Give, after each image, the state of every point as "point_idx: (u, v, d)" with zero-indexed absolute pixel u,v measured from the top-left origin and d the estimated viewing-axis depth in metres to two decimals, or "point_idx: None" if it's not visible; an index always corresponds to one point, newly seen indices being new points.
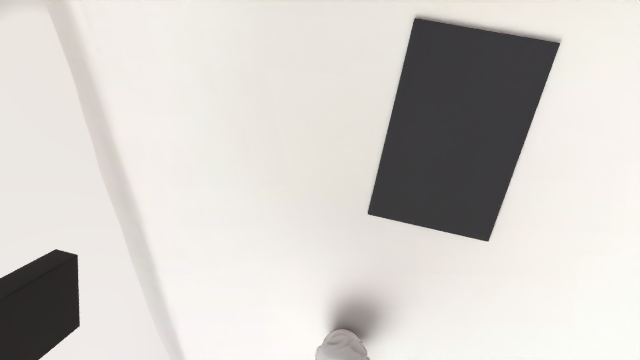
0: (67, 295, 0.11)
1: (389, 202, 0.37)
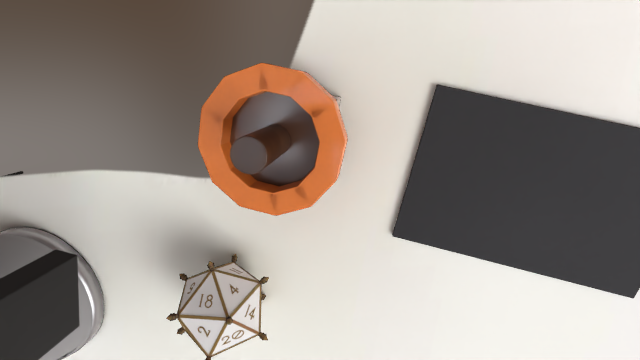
0: (67, 295, 0.11)
1: (620, 272, 0.28)
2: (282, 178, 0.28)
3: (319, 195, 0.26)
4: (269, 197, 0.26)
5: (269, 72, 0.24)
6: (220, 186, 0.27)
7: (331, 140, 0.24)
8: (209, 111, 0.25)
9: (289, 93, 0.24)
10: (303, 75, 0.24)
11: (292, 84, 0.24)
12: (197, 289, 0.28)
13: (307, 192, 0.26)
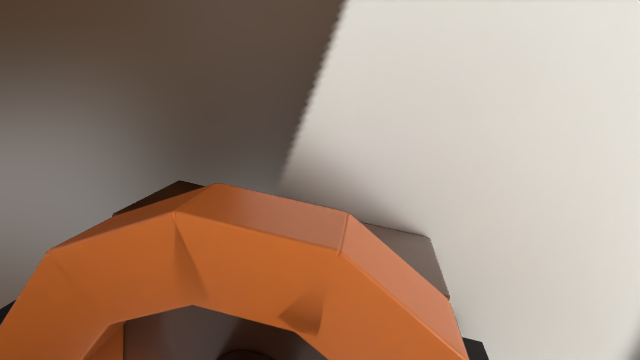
0: None
1: None
2: None
3: None
4: None
5: (209, 247, 0.06)
6: None
7: None
8: (19, 351, 0.07)
9: (290, 323, 0.06)
10: (346, 265, 0.06)
11: (300, 295, 0.06)
12: None
13: None
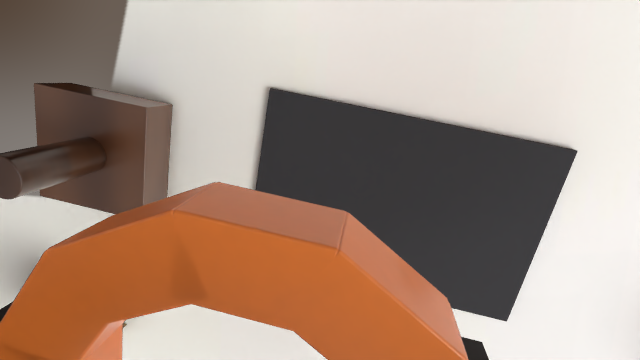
0: None
1: (488, 293, 0.25)
2: (104, 197, 0.24)
3: None
4: None
5: (207, 246, 0.06)
6: None
7: None
8: (17, 351, 0.07)
9: (289, 322, 0.06)
10: (345, 264, 0.06)
11: (299, 294, 0.06)
12: None
13: None
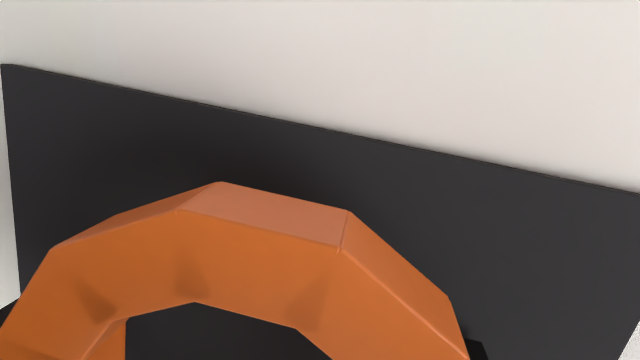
0: None
1: None
2: None
3: None
4: None
5: (210, 244, 0.06)
6: None
7: None
8: (22, 348, 0.07)
9: (291, 319, 0.06)
10: (347, 262, 0.06)
11: (301, 291, 0.06)
12: None
13: None
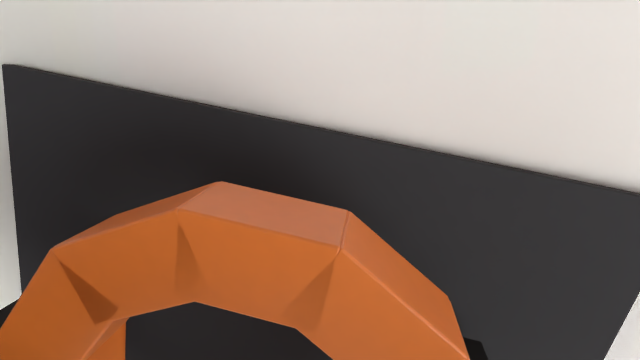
0: None
1: None
2: None
3: None
4: None
5: (211, 244, 0.06)
6: None
7: None
8: (22, 348, 0.07)
9: (291, 319, 0.06)
10: (347, 262, 0.06)
11: (301, 291, 0.06)
12: None
13: None
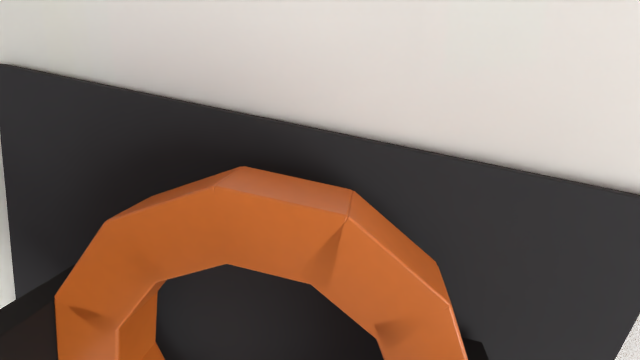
0: None
1: None
2: None
3: None
4: None
5: (241, 215, 0.07)
6: None
7: None
8: (76, 308, 0.09)
9: (307, 276, 0.08)
10: (353, 227, 0.07)
11: (315, 253, 0.07)
12: None
13: None
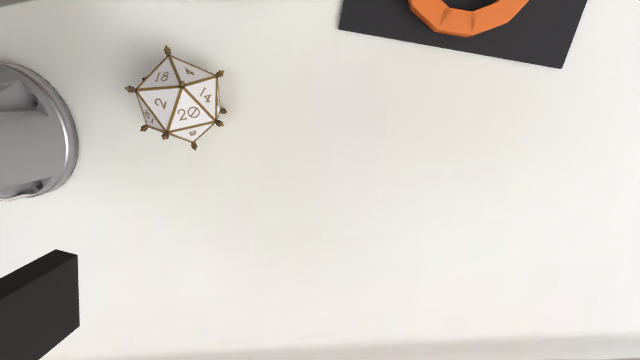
0: (67, 295, 0.11)
1: (547, 41, 0.30)
2: None
3: (518, 9, 0.28)
4: (468, 16, 0.29)
5: None
6: (420, 10, 0.29)
7: None
8: None
9: None
10: None
11: None
12: (154, 70, 0.30)
13: (507, 7, 0.28)
